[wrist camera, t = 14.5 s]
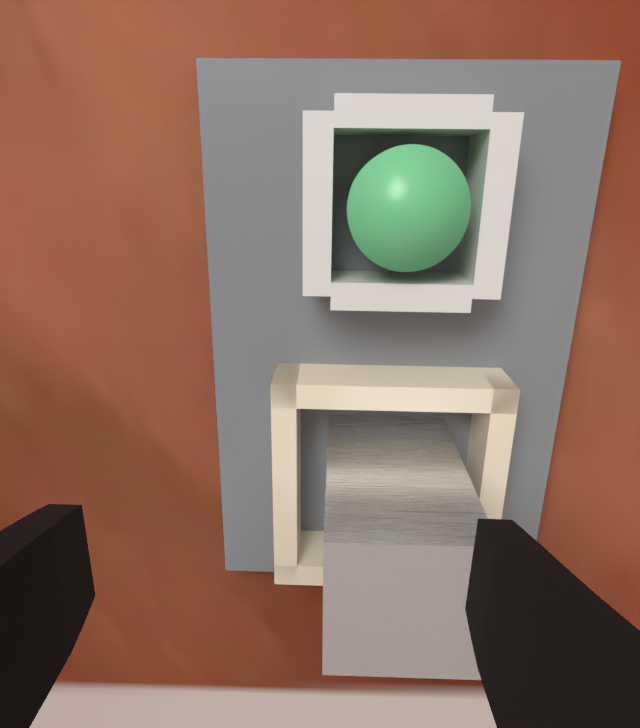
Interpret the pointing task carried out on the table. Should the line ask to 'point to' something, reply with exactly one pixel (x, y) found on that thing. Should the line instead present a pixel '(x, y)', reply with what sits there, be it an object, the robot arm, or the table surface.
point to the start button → (408, 208)
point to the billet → (397, 549)
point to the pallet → (390, 276)
